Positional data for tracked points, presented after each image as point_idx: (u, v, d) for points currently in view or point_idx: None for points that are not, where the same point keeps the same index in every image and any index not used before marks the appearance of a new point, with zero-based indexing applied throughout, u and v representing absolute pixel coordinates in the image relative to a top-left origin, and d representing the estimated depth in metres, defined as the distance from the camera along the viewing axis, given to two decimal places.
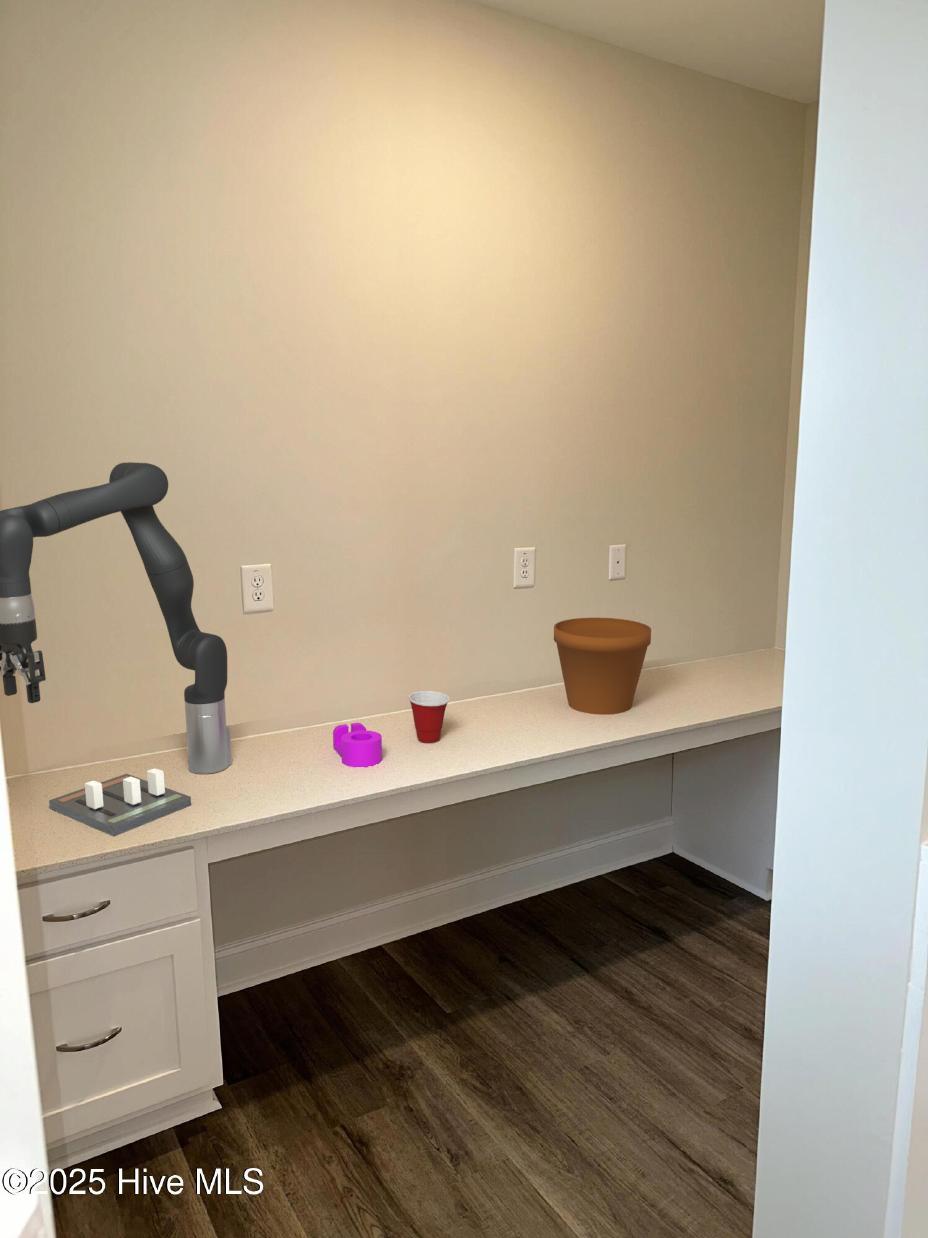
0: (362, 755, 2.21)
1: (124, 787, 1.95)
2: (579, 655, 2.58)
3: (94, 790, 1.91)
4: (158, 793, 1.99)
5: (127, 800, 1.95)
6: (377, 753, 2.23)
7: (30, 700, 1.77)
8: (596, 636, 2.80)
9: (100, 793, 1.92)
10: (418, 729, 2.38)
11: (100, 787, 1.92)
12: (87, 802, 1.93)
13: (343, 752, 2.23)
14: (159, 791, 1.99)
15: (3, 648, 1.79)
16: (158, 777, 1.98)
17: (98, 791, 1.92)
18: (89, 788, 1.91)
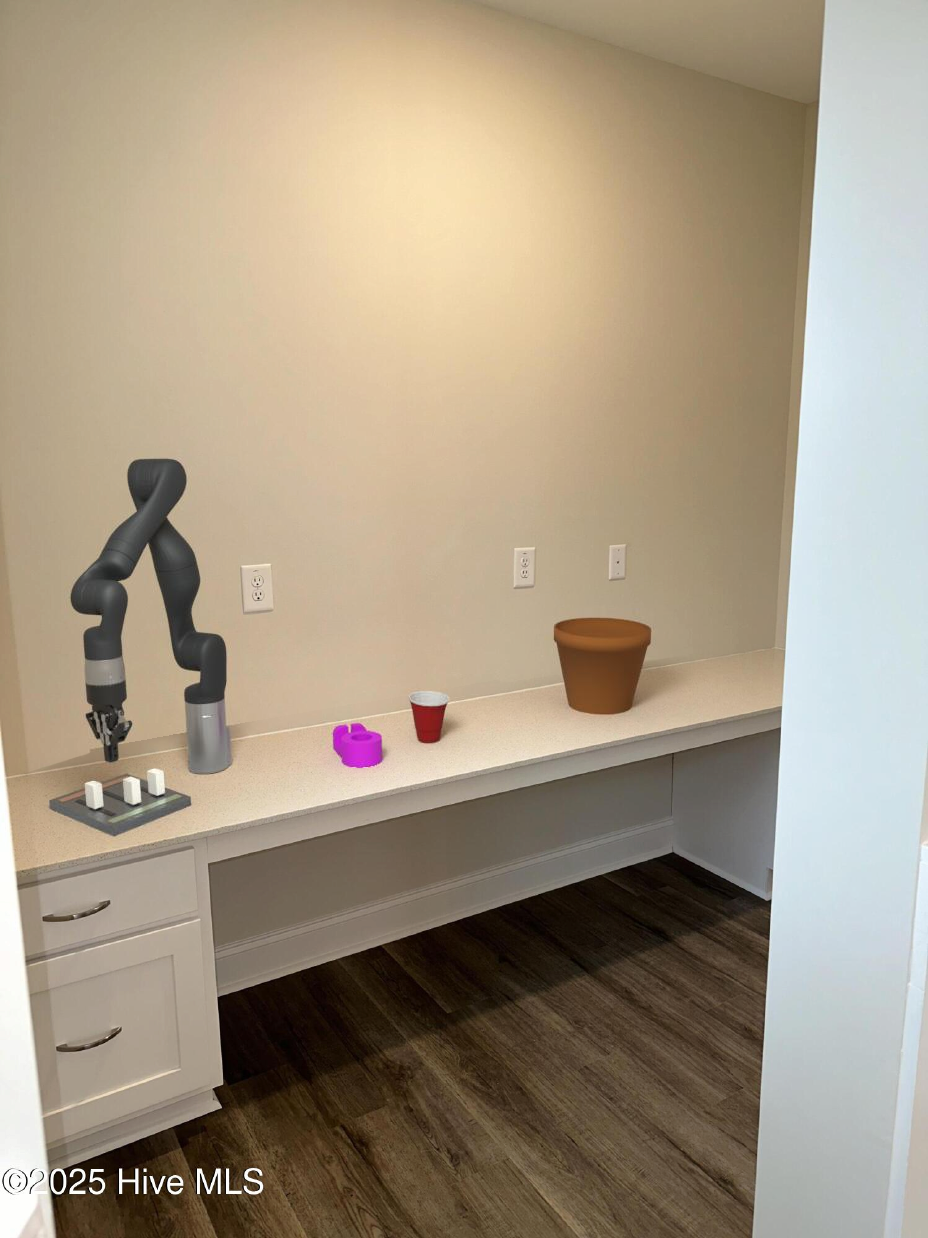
0: (363, 755, 2.21)
1: (124, 787, 1.95)
2: (579, 655, 2.58)
3: (94, 790, 1.91)
4: (158, 793, 1.99)
5: (127, 800, 1.95)
6: (377, 753, 2.23)
7: (109, 760, 1.85)
8: (596, 636, 2.80)
9: (100, 793, 1.92)
10: (418, 729, 2.38)
11: (100, 787, 1.92)
12: (87, 802, 1.93)
13: (343, 752, 2.23)
14: (159, 791, 1.99)
15: (93, 707, 1.85)
16: (158, 777, 1.98)
17: (98, 791, 1.92)
18: (89, 788, 1.91)
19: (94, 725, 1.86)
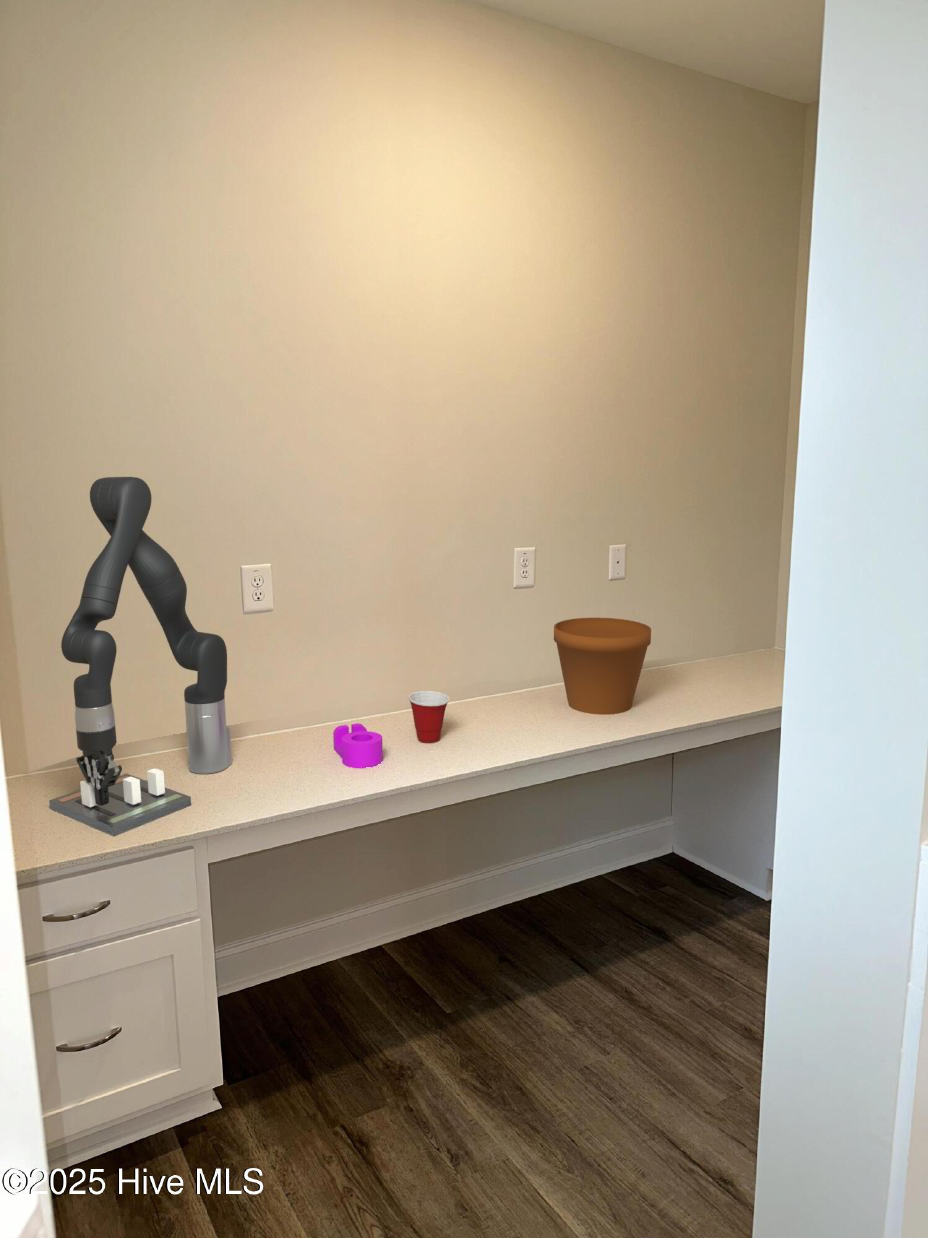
0: (363, 756, 2.21)
1: (124, 787, 1.95)
2: (579, 655, 2.58)
3: (90, 788, 1.92)
4: (158, 793, 1.99)
5: (127, 800, 1.95)
6: (378, 754, 2.23)
7: (100, 803, 1.90)
8: (596, 636, 2.80)
9: None
10: (418, 729, 2.38)
11: None
12: (82, 800, 1.94)
13: (344, 753, 2.23)
14: (159, 791, 1.99)
15: (84, 752, 1.90)
16: (158, 777, 1.98)
17: (93, 789, 1.93)
18: (84, 786, 1.92)
19: (85, 769, 1.91)
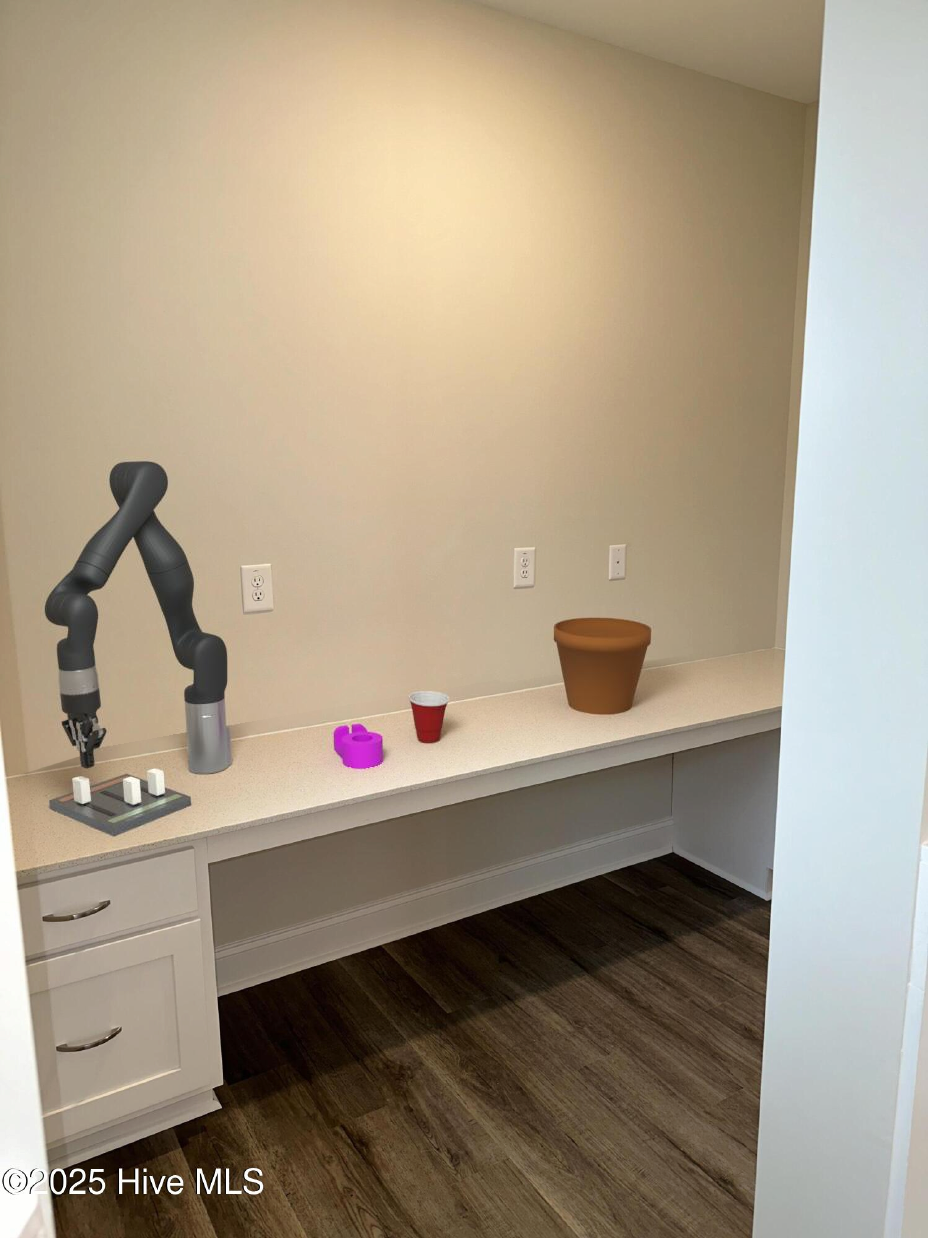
0: (363, 756, 2.20)
1: (124, 787, 1.95)
2: (579, 655, 2.58)
3: (82, 785, 1.94)
4: (158, 793, 1.99)
5: (127, 800, 1.95)
6: (378, 754, 2.22)
7: (85, 766, 1.91)
8: (596, 636, 2.80)
9: (87, 788, 1.95)
10: (418, 729, 2.38)
11: (87, 782, 1.95)
12: (75, 797, 1.95)
13: (344, 753, 2.23)
14: (159, 791, 1.99)
15: (68, 715, 1.91)
16: (158, 777, 1.98)
17: (85, 786, 1.94)
18: (76, 783, 1.94)
19: (70, 732, 1.92)
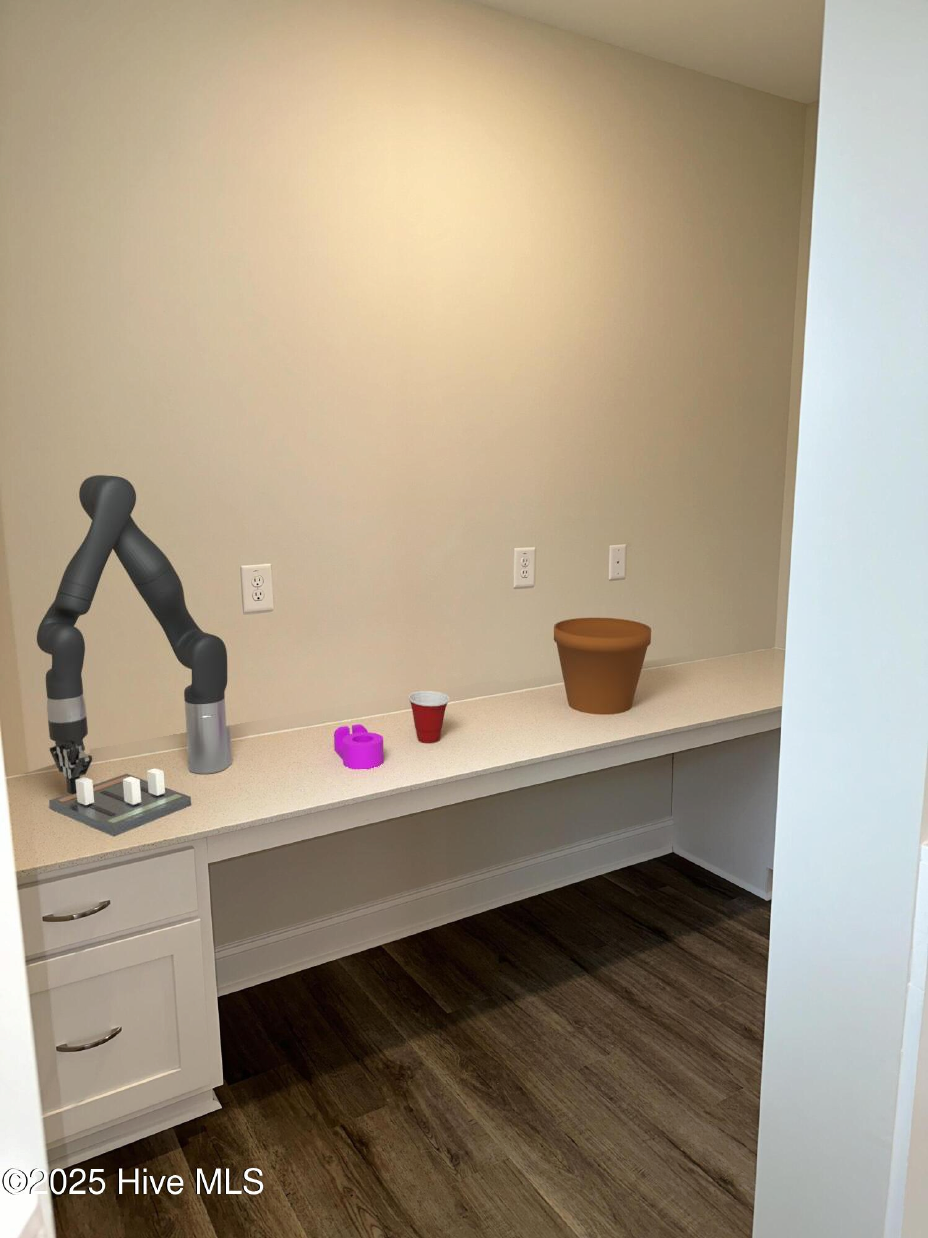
0: (364, 757, 2.20)
1: (124, 787, 1.95)
2: (579, 655, 2.58)
3: (85, 786, 1.93)
4: (158, 793, 1.99)
5: (127, 800, 1.95)
6: (378, 755, 2.22)
7: (72, 792, 1.96)
8: (596, 636, 2.80)
9: (91, 789, 1.94)
10: (418, 729, 2.38)
11: (91, 783, 1.94)
12: (78, 798, 1.95)
13: (344, 754, 2.22)
14: (159, 791, 1.99)
15: (56, 742, 1.96)
16: (158, 777, 1.98)
17: (89, 787, 1.94)
18: (80, 784, 1.93)
19: (57, 759, 1.97)
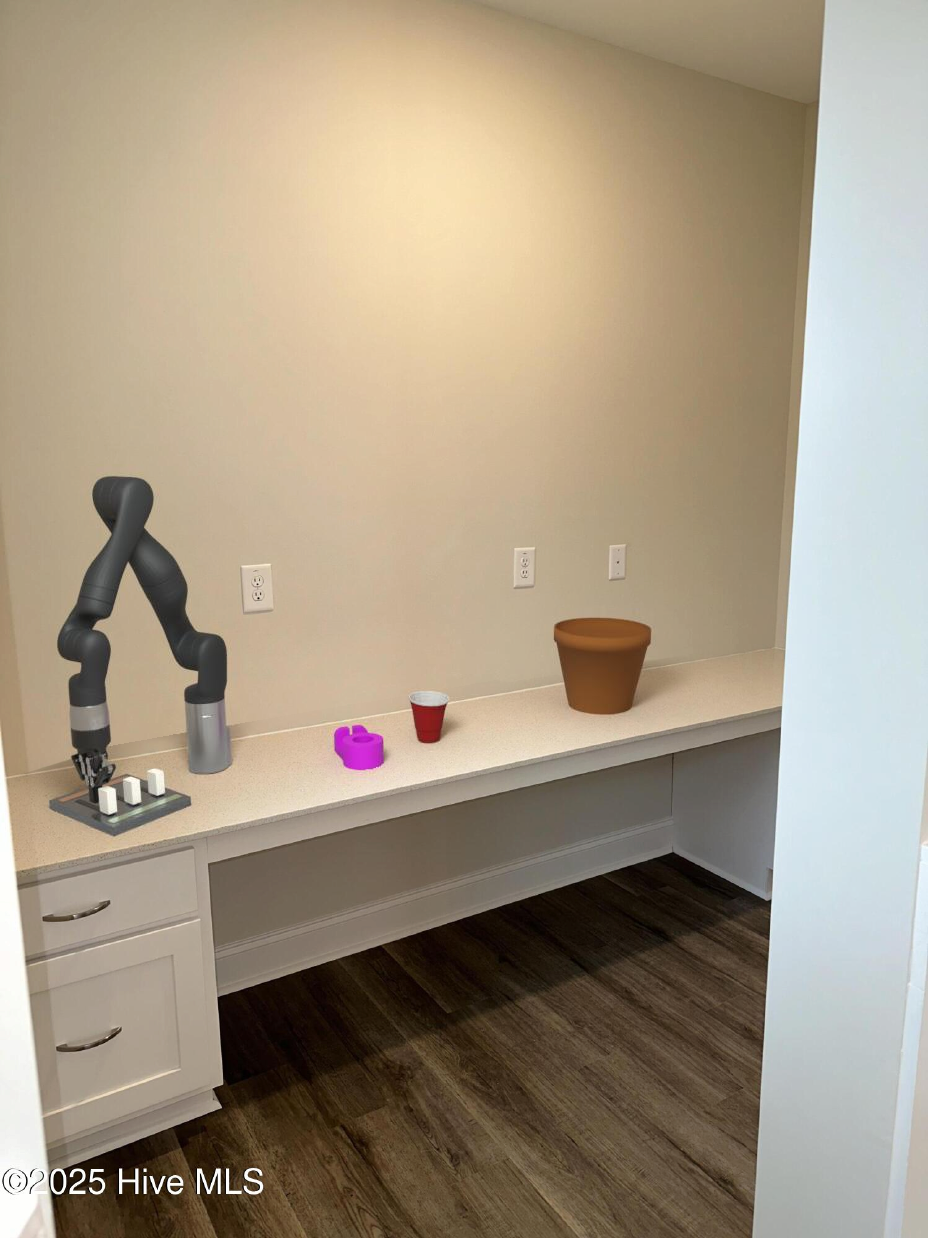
0: (364, 758, 2.20)
1: (124, 787, 1.95)
2: (579, 655, 2.58)
3: (108, 795, 1.88)
4: (158, 793, 1.99)
5: (127, 800, 1.95)
6: (379, 755, 2.22)
7: (94, 801, 1.91)
8: (596, 636, 2.80)
9: (114, 798, 1.89)
10: (418, 729, 2.38)
11: (114, 792, 1.89)
12: (100, 807, 1.90)
13: (344, 754, 2.22)
14: (159, 791, 1.99)
15: (78, 750, 1.91)
16: (158, 777, 1.98)
17: (112, 796, 1.89)
18: (103, 793, 1.89)
19: (79, 767, 1.92)
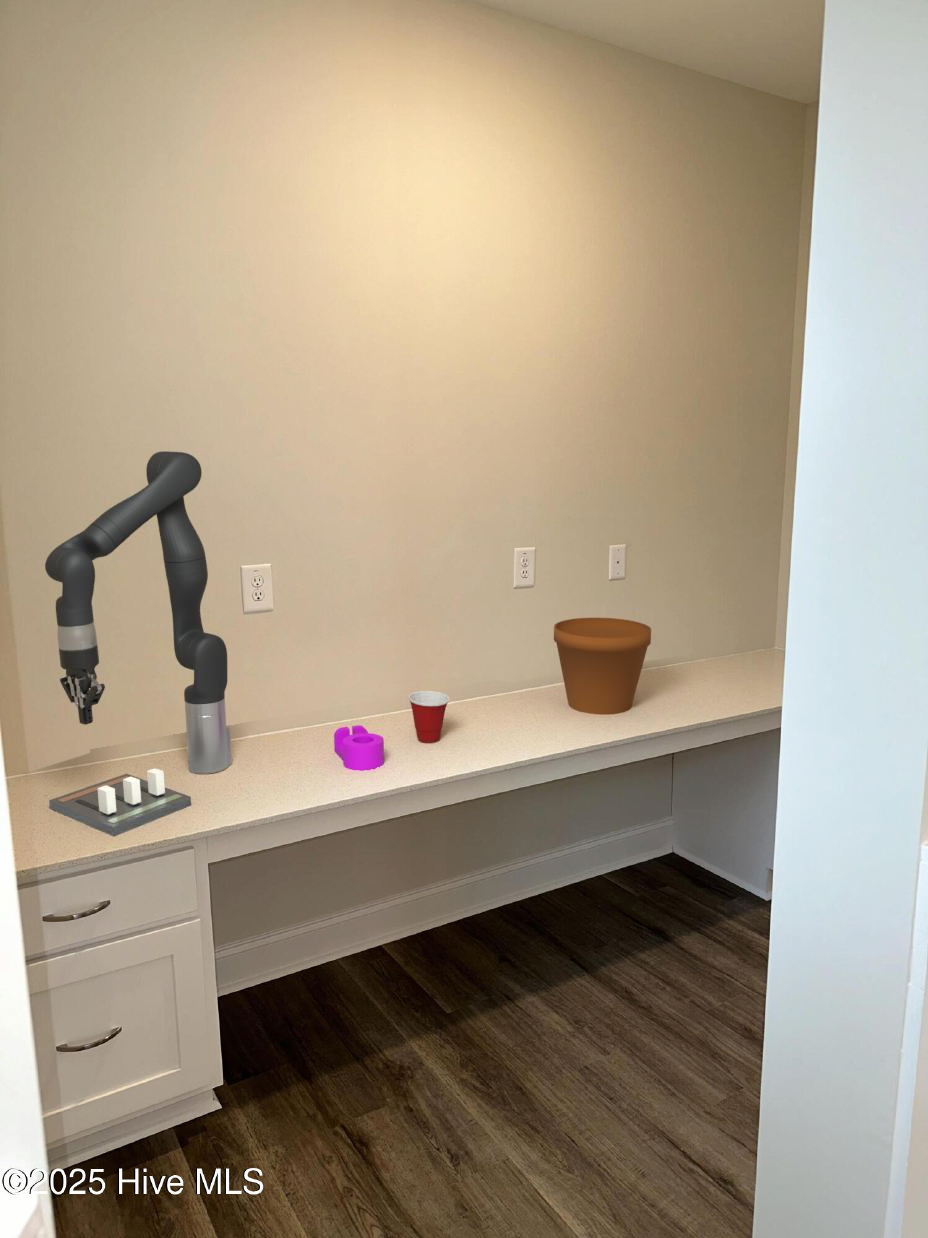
0: (364, 758, 2.19)
1: (124, 787, 1.95)
2: (579, 655, 2.58)
3: (107, 795, 1.88)
4: (158, 793, 1.99)
5: (127, 800, 1.95)
6: (379, 756, 2.21)
7: (84, 722, 1.94)
8: (596, 636, 2.80)
9: (113, 798, 1.90)
10: (418, 729, 2.38)
11: (113, 792, 1.89)
12: (100, 807, 1.90)
13: (345, 755, 2.21)
14: (159, 791, 1.99)
15: (67, 672, 1.94)
16: (158, 777, 1.98)
17: (111, 796, 1.89)
18: (102, 793, 1.89)
19: (68, 689, 1.95)
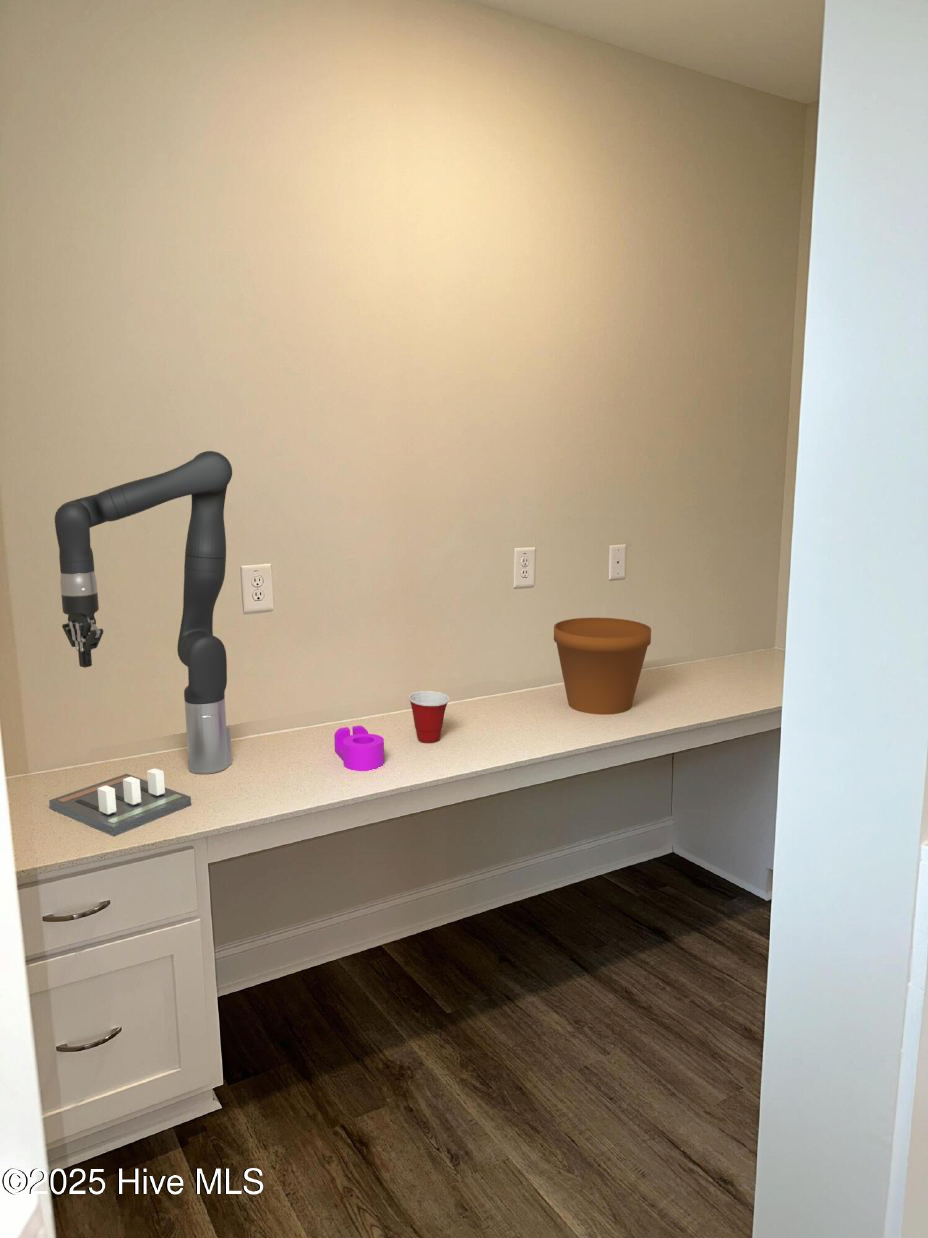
0: (365, 758, 2.19)
1: (124, 787, 1.95)
2: (579, 655, 2.58)
3: (107, 795, 1.88)
4: (158, 793, 1.99)
5: (127, 800, 1.95)
6: (379, 756, 2.21)
7: (83, 665, 2.08)
8: (596, 636, 2.80)
9: (113, 798, 1.90)
10: (418, 729, 2.38)
11: (113, 792, 1.89)
12: (100, 807, 1.90)
13: (345, 755, 2.21)
14: (159, 791, 1.99)
15: (69, 618, 2.08)
16: (158, 777, 1.98)
17: (111, 796, 1.89)
18: (102, 793, 1.89)
19: (70, 634, 2.09)
